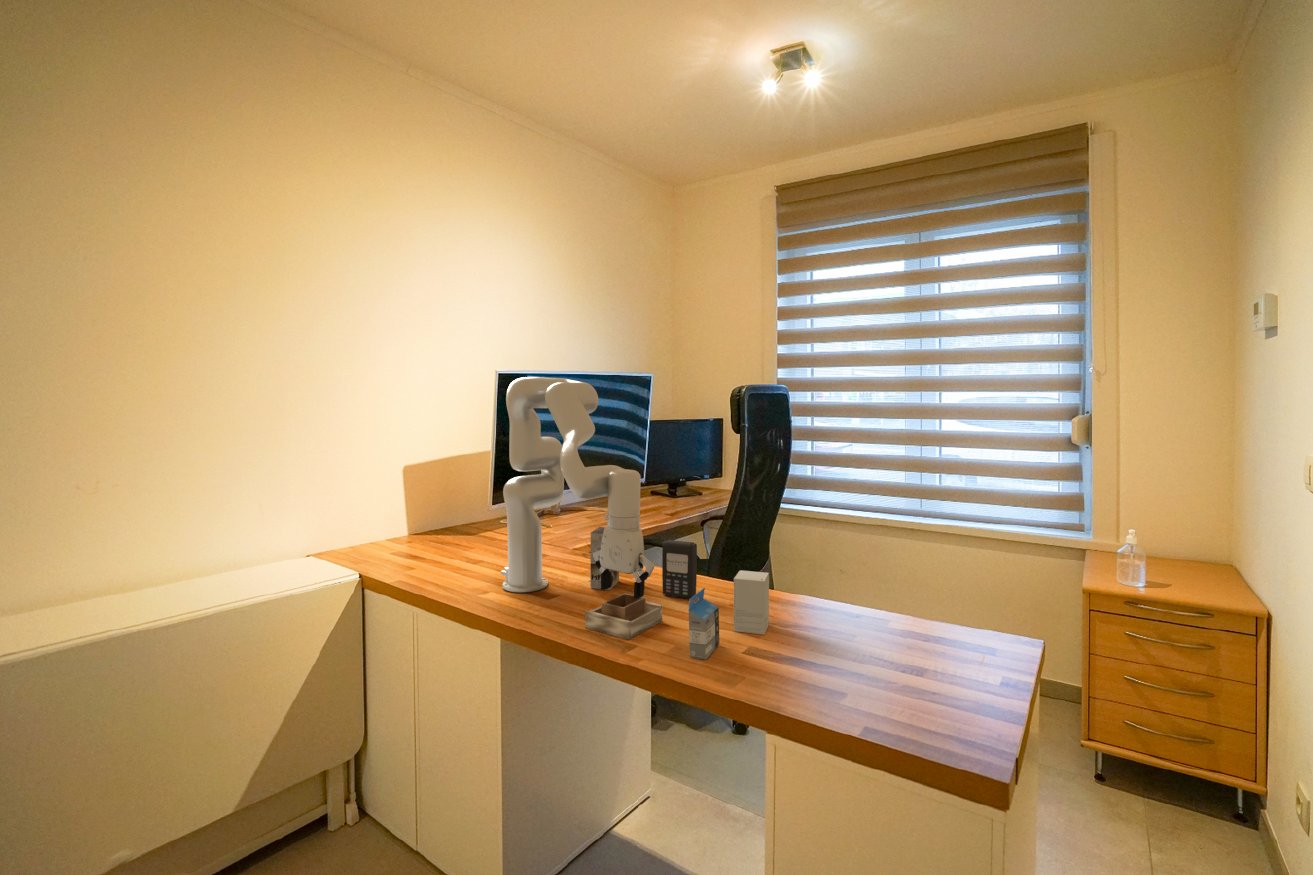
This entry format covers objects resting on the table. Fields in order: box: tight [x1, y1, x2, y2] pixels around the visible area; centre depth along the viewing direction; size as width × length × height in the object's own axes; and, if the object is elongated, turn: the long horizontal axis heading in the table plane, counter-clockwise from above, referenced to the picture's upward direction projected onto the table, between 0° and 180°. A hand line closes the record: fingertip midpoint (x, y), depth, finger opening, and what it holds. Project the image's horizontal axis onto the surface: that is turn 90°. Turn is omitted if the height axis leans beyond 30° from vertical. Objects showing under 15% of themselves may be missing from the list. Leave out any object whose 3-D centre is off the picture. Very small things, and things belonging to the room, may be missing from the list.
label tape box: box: [688, 587, 720, 660], centre depth 128 cm, size 9×4×12 cm, turn 155°
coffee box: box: [589, 526, 620, 591], centre depth 174 cm, size 9×6×16 cm
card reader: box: [661, 539, 698, 600], centre depth 164 cm, size 9×4×15 cm, turn 67°
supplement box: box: [733, 569, 770, 636], centre depth 141 cm, size 7×7×13 cm
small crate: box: [601, 592, 647, 621], centre depth 143 cm, size 6×9×5 cm
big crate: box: [584, 601, 663, 641], centre depth 143 cm, size 13×14×4 cm
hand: (622, 593), depth 144 cm, fingers open, 9 cm apart
